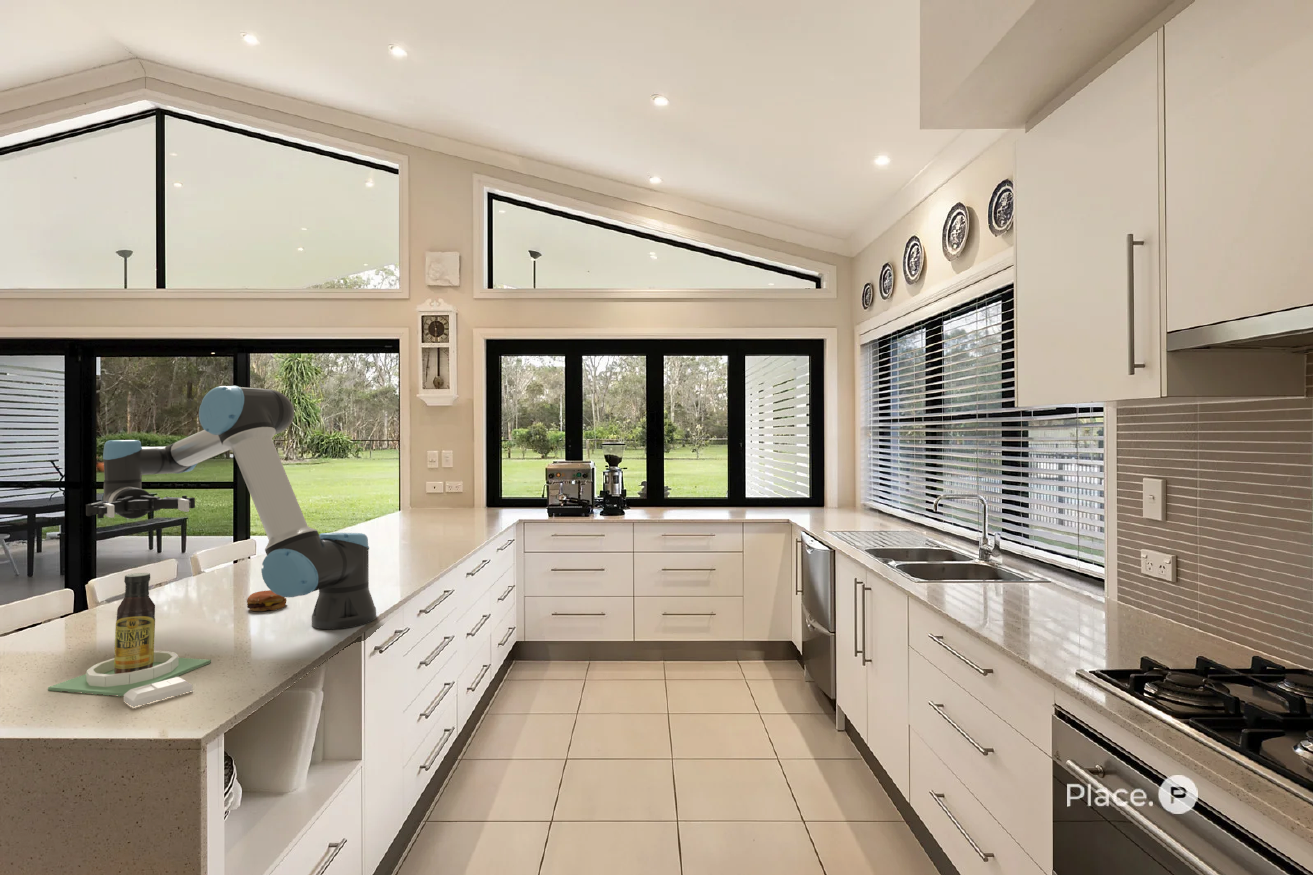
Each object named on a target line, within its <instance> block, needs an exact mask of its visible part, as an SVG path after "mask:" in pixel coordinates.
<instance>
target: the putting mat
mask: <svg viewBox="0 0 1313 875" xmlns="http://www.w3.org/2000/svg"><path fill="white" fill-rule="evenodd" d="M211 660H212V659H207V658H206V659H204V658H201V659H200V658H189V657H187V658H186V657H179V655H178V654H177V653H176V652H175V651H168V650H154V661H153V667H151V668H147V669H142V670H138V671H133V672H128V673H119V674H115V672H114V670H115V667H114V657H112V658H110V659H107V660H104V661H101V662H98V663H95V664H93V665H92V666H91V667H89V668H88V669H87V670H86V671H85V672H86V673H85V674H82V675H79V676H77V677H74V678H73V677H72V678H71V679H68V680H65V681H62V682H59V683H56V684H54V685H51V686H48V687H47V690H48V691H49V692H50V691H52V692H62V691H68V692H67V693H74V692H82V693H81V694H85V693H93V694H92V695H97V694H103V695H102V696H109V695H118V696H117V697H120V696H124V694H125V693H126V692H128V691H129V690H130V689H133V688H137V687H141V686H145V685H149V684H152V683H156V682H160V681H164V680H167V679H171V678H175V677H180V676H182V675H184V674H186V673H188V672H189V673H190V671H193V670H196V669H198V668H201V667H203V666H206V665H208V664H211V663H212V662H211Z"/></svg>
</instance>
